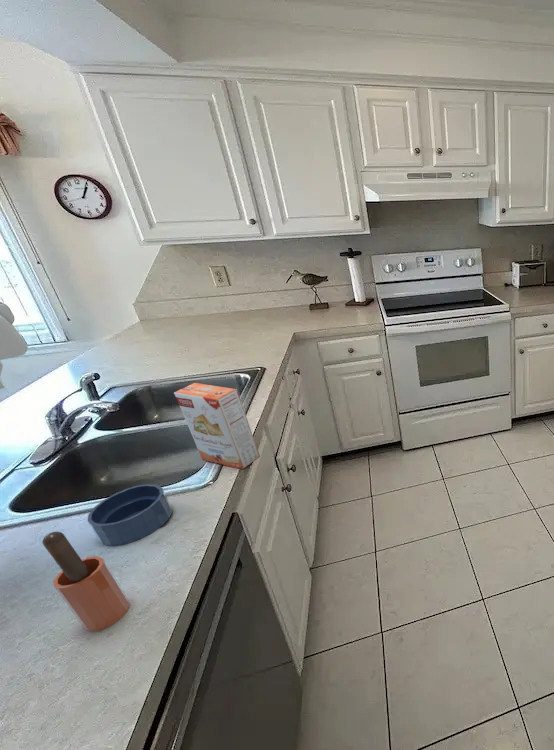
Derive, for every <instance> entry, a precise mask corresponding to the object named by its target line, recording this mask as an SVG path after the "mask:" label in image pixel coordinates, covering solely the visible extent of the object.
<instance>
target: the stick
mask: <svg viewBox="0 0 554 750" xmlns="http://www.w3.org/2000/svg"><path fill="white" fill-rule="evenodd" d="M42 545H43V547H44V548H45V550H46V551H47V552H48V553H49V555H50V556H51V557H52V558H53V560H54V561H55V563H56V564H57V565H58V567H59V568H60V569H61V570H62V571H63V572H64V573H65V574H66V576H67V577H68V578H69V580H70V581H71V582H72V584H74V583H76V582H79V581H81V580H83V579H84V578H86V577H88V576H89V575H90V574H91V573H90V571H89V570H88V569H87V567H86V566H85V564H84V563H83V561H82V559H81V557H80V556H79V554H78V552H77V551H76V550H75V548H74V547H73V546H72V544H71V543H70V541H69V540H68V538H67V537H66V535H65V534H64V533H63V532H61V531H52V532H49V533H48V534H46V535H45V536H44V537H43V539H42Z"/></svg>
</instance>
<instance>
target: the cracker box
mask: <svg viewBox="0 0 554 750" xmlns="http://www.w3.org/2000/svg"><path fill="white" fill-rule="evenodd" d="M173 395H174V396H175V399H176V401H177V403H178V406H179V408H180V410H181V413H182V415H183V417H184V420H185V422H186V424H187V427H188V429H189V432H190V434H191V436H192V439H193V441H194V443H195V446H196V448H197V450H198V454H199V455H200V458H201V460H202V461H204V462H208V461H211V462H210V463H213V462H217V463H220V464H219V465H222V466H226V467H231V468H236V469H239V470H244V469H246V468H247V467H248V466H250V465H251V464H253V463H254V462H256V461H257V460H258V459H259V458H260V457H261V455H260V452H259V449H258V446H257V444H256V440H255V438H254V435H253V432H252V430H251V426H250V423H249V420H248V418H247V414H246V412H245V409H244V405H243V403H242V400H241V397H240V394H239V392H238V389H237V388H231V387H224V386H217V385H211V384H205V383H199V382H193V383H190V384H189V385H187V386H185V387H182V388H180V389H178V390H176V391H174V392H173ZM217 463H216V464H217Z"/></svg>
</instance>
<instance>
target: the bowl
mask: <svg viewBox="0 0 554 750" xmlns="http://www.w3.org/2000/svg"><path fill="white" fill-rule="evenodd" d="M172 513H173V507H172V504H171V503H170V500H169V499H168V496H167V494H166V493H165V490H164V488H163V487H162V486H160V485H159V484H154V483H147V484H139V485H135V486H132V487H131V486H130V487H128V488H125V489H123V490H120V491H117V492H116V493H113V494H112V495H110V496H108V497H106V498H104V499H103V500H102V501H100V502H98V504H96V505H95V506H93V508H92V509H91V510H90V512H89V513H88V515H87V523H88V525H89V527H90V528H91V529H92V532H93V533H94V535H95V536H96V538H97V539H98V541H99V542H100V543H101V544H102V545H104V546H110V547H115V546H122V545H127V544H130V543H132V542H136V541H139V540H141V539H143V538H145V537H147V536H149V535H151V534H153V533H154V532H156V531H157V530H158V529H159V528H161V527H162V526H163V525H164V524H165V523H166V522H167V521H168V520H169V519H170V517H171V515H172Z"/></svg>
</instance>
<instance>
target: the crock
mask: <svg viewBox="0 0 554 750" xmlns="http://www.w3.org/2000/svg"><path fill="white" fill-rule="evenodd" d="M81 560H82V561H83V563H84V564H85V566H86V567H87V569H88V570H89V571H90V573H91V574H90V575H89V576H88V577H86V578H84V579H83V580H81V581H79V582H76V583H74V584H72V582H71V581H70V580H69V578H68V577H67V576H66V574H65V573H64V572H63V570H62V571H60V572H59V573H57V575H56V577H55V578H54V580H53V587H54V589H55V590H56V592H57V593H58V594H59V596H60V597H61V599H62V600H63V602H64V603H65V604H66V606H67V607H68V608H69V610H70V611H71V612H72V614H73V615H74V616H75V617H76V619H77V620H78V622H79V623H80V625H81V626H82V627H83V629H84V630H85V631H87V632H89V633H90V632H91V633H93V632H100V631H102V630H105V629H107V628H109V627H111V626H113V625H114V624H116V623H117V622H118V621H120V620H121V619H122V618H123V617H124V616H125V615H126V614H127V612H128V610H129V609H130V606H131V603H130V599H129V598H128V596H127V594H126V593H125V591H124V590H123V588H122V587H121V584H119V582H118V580H117V579H116V578H115V575H114V574H113V572H112V571H111V569H110V567H109V565H108V564H107V563H106V561H105V559H104V558H103V557H101V556H99V555H95V556H88V557H85V558H83V559H81Z"/></svg>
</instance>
